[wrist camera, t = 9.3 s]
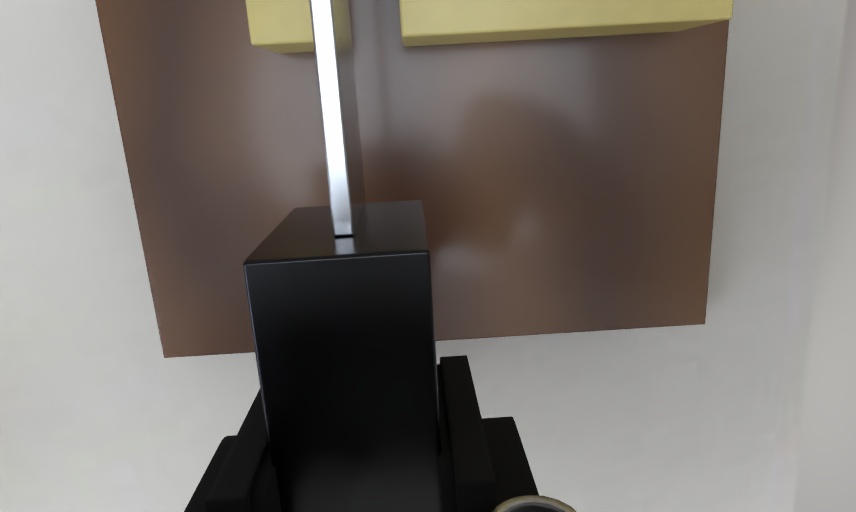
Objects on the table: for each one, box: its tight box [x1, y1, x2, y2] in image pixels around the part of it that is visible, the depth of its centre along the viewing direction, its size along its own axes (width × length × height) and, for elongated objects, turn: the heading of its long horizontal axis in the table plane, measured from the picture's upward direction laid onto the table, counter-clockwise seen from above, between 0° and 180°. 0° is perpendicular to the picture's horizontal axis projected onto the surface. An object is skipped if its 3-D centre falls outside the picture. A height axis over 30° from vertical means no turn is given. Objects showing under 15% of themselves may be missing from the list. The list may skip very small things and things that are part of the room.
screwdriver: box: [242, 0, 442, 512], centre depth 9 cm, size 19×2×4 cm, turn 3°
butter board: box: [95, 0, 729, 358], centre depth 17 cm, size 18×20×1 cm
